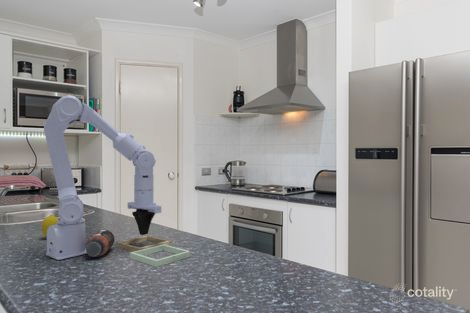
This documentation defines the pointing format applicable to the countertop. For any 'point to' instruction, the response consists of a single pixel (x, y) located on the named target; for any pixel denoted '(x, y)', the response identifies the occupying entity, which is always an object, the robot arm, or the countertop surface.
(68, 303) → the countertop surface
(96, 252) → the supplement bottle
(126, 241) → the socket collar
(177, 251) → the square frame
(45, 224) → the lemon
